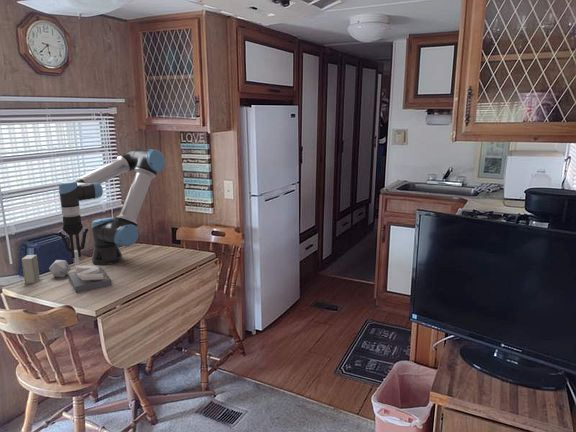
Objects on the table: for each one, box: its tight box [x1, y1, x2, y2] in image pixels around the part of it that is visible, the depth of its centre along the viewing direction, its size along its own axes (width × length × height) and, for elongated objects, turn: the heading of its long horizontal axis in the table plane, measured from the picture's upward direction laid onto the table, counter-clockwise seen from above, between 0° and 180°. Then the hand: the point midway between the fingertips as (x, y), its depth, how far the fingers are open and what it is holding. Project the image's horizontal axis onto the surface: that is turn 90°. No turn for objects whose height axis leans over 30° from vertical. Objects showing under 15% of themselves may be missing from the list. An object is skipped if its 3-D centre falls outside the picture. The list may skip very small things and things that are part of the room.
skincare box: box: [21, 254, 40, 284], centre depth 204 cm, size 6×4×12 cm
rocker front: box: [80, 274, 104, 280], centre depth 196 cm, size 4×9×1 cm, turn 124°
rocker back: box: [74, 264, 97, 272], centre depth 208 cm, size 4×9×1 cm, turn 124°
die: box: [48, 259, 72, 278], centre depth 211 cm, size 8×9×10 cm
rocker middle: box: [77, 266, 100, 279], centre depth 202 cm, size 4×9×1 cm, turn 124°
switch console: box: [67, 267, 113, 294], centre depth 202 cm, size 21×15×4 cm
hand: (77, 264), depth 205 cm, fingers closed
